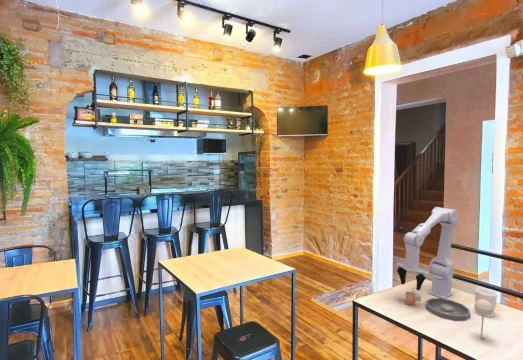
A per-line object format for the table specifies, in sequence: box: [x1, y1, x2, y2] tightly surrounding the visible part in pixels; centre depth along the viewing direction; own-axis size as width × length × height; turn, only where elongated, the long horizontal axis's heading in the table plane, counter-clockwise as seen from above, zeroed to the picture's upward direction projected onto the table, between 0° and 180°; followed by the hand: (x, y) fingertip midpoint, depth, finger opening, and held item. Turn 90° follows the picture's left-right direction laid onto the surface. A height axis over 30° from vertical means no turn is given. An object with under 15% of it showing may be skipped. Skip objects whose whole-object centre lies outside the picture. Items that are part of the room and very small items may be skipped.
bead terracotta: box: [404, 291, 416, 307], centre depth 148 cm, size 4×4×5 cm
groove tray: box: [425, 297, 471, 322], centre depth 142 cm, size 17×17×2 cm
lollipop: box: [473, 299, 493, 339], centre depth 121 cm, size 6×6×15 cm
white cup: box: [474, 287, 498, 318], centre depth 140 cm, size 8×8×10 cm
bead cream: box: [411, 287, 422, 302], centre depth 153 cm, size 4×4×5 cm
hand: (410, 286), depth 148 cm, fingers open, 7 cm apart
